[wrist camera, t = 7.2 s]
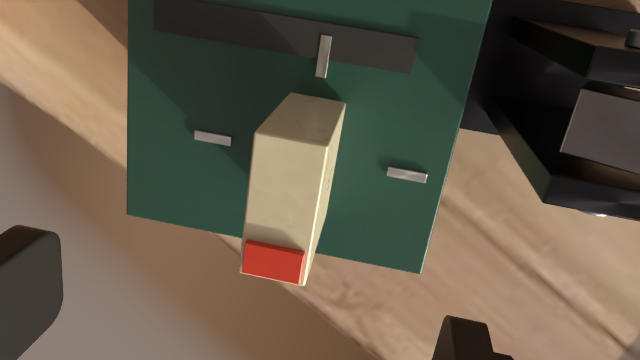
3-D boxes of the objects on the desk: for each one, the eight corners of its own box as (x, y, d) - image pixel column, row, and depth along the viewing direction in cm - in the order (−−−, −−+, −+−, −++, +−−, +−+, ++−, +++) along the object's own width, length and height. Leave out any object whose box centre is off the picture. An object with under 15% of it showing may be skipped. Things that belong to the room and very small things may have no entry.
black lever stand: (640, 13, 26) (847, 46, 14) (591, 146, 28) (729, 269, 17) (478, -13, 26) (543, -3, 14) (445, 120, 29) (477, 220, 17)
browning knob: (289, 91, 18) (251, 133, 13) (346, 102, 18) (327, 148, 13) (274, 204, 20) (235, 277, 15) (326, 214, 20) (303, 292, 15)
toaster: (465, -49, 26) (510, -63, 16) (412, 179, 30) (419, 284, 20) (230, -85, 27) (125, -123, 16) (213, 141, 31) (123, 223, 21)
